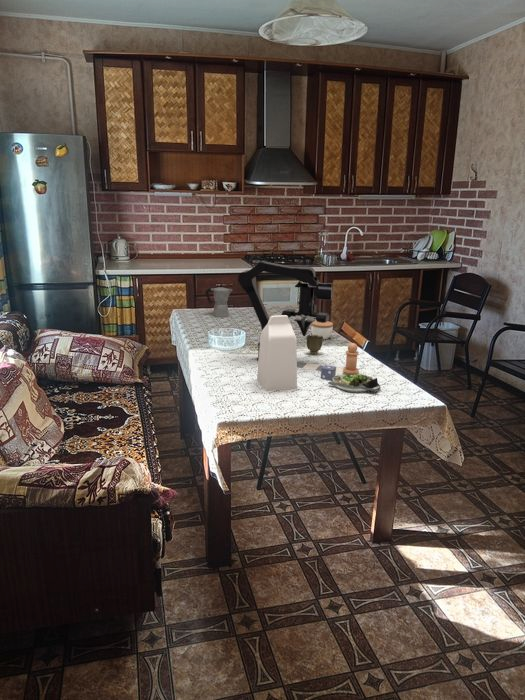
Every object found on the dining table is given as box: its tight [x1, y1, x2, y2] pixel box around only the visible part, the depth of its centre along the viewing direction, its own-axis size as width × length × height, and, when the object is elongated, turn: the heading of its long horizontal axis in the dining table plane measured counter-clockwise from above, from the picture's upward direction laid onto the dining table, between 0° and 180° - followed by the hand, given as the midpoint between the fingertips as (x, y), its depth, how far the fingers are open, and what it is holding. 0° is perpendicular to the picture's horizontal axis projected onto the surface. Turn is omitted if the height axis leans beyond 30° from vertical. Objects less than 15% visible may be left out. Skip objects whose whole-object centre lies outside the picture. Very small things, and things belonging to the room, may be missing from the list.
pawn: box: [342, 342, 359, 375], centre depth 213 cm, size 6×6×12 cm
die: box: [320, 364, 337, 381], centre depth 208 cm, size 4×5×5 cm
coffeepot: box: [204, 283, 233, 318], centre depth 302 cm, size 15×9×18 cm, turn 103°
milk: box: [256, 314, 298, 391], centre depth 197 cm, size 12×12×26 cm
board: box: [297, 361, 360, 375], centre depth 219 cm, size 28×7×1 cm, turn 68°
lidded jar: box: [310, 320, 334, 340], centre depth 263 cm, size 11×11×9 cm
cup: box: [305, 334, 324, 356], centre depth 238 cm, size 8×7×8 cm
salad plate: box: [327, 373, 381, 393], centre depth 201 cm, size 19×18×5 cm
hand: (304, 335), depth 221 cm, fingers closed
